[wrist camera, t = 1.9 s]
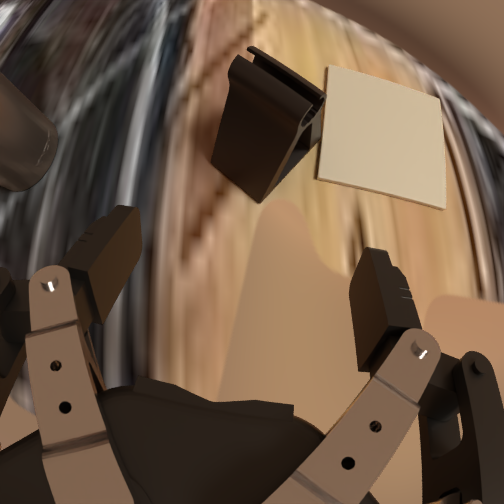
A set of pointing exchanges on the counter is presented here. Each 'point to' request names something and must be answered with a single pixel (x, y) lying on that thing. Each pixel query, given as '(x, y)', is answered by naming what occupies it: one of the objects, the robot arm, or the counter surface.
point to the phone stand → (266, 123)
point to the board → (382, 138)
